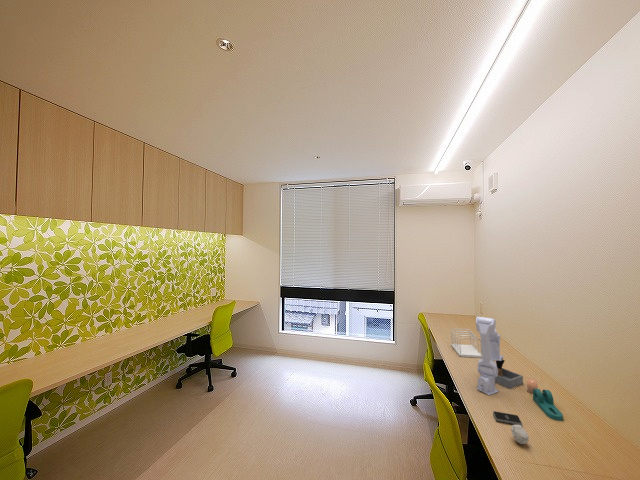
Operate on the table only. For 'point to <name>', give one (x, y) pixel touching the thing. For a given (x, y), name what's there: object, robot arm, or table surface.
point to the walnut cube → (499, 372)
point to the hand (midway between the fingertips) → (495, 371)
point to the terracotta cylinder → (531, 385)
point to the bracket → (547, 404)
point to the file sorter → (466, 349)
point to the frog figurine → (519, 434)
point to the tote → (509, 379)
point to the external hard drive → (507, 418)
